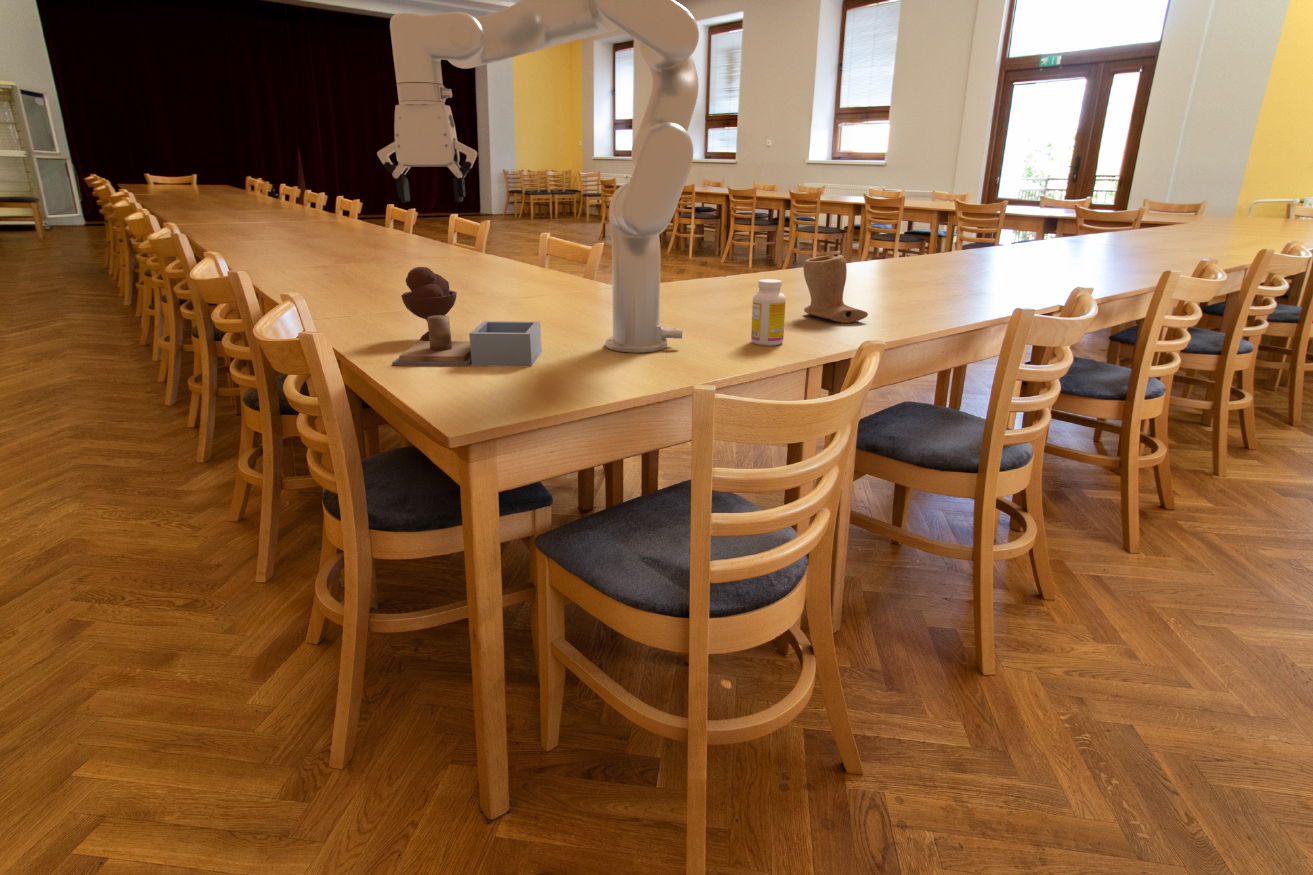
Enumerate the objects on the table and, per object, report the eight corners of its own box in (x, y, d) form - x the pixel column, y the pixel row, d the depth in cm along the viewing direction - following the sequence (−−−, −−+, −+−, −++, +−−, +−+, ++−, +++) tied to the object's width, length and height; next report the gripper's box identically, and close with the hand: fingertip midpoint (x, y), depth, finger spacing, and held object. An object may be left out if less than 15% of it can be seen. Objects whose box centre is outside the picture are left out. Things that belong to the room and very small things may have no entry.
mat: (486, 348, 148) (486, 345, 148) (468, 366, 135) (468, 363, 135) (417, 347, 149) (416, 344, 148) (392, 365, 136) (392, 362, 135)
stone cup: (790, 314, 183) (795, 252, 178) (831, 311, 187) (837, 250, 182) (825, 327, 170) (830, 260, 164) (868, 323, 174) (875, 258, 168)
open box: (541, 351, 146) (540, 321, 144) (531, 366, 136) (529, 334, 134) (486, 351, 146) (483, 321, 144) (471, 365, 136) (469, 333, 134)
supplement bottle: (786, 341, 156) (791, 279, 151) (777, 348, 150) (782, 284, 145) (756, 338, 158) (759, 277, 154) (746, 344, 153) (749, 281, 148)
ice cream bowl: (446, 345, 150) (439, 270, 145) (396, 343, 152) (387, 269, 147) (469, 334, 160) (463, 263, 155) (422, 332, 162) (414, 262, 157)
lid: (480, 346, 147) (477, 311, 145) (464, 361, 136) (461, 324, 134) (420, 345, 147) (416, 310, 145) (399, 361, 136) (395, 323, 134)
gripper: (476, 98, 130) (485, 200, 136) (379, 98, 130) (391, 200, 136) (465, 94, 123) (475, 202, 129) (362, 95, 123) (376, 203, 129)
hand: (432, 201), depth 132 cm, fingers open, 9 cm apart
